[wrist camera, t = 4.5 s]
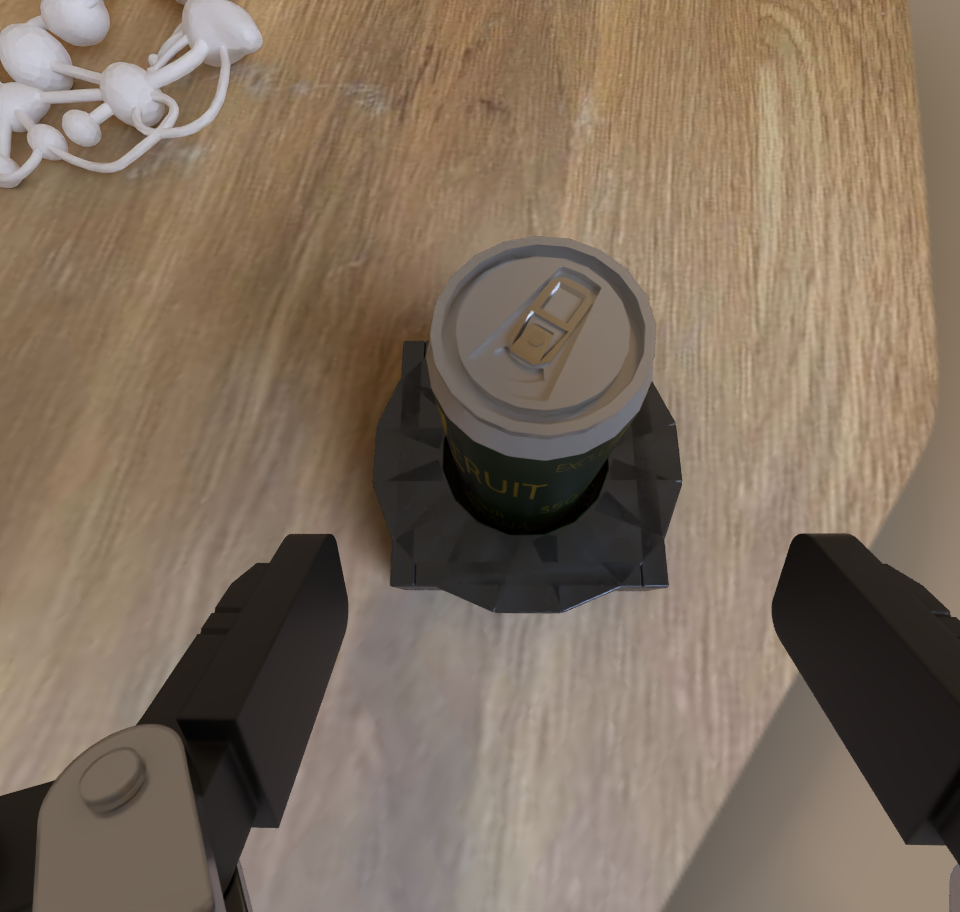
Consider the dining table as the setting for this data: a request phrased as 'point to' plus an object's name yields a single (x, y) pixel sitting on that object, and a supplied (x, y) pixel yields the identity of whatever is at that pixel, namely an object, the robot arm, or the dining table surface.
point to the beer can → (538, 373)
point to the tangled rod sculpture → (108, 79)
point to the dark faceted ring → (521, 557)
